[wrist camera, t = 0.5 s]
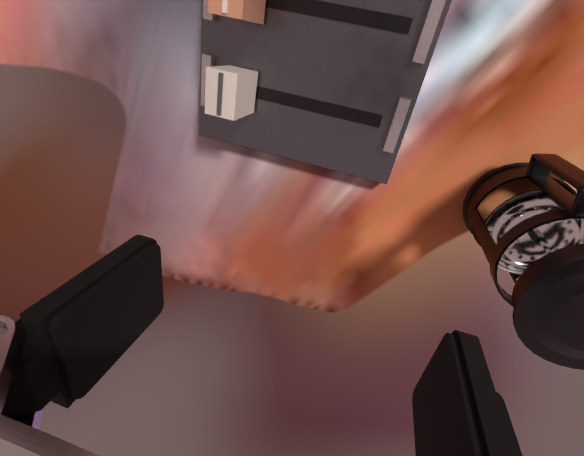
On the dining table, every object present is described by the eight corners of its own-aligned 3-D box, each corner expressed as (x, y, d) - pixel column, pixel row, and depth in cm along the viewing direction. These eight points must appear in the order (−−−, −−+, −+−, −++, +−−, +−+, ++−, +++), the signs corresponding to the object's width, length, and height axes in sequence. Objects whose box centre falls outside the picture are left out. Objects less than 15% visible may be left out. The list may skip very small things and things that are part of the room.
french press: (547, 254, 35) (746, 508, 15) (453, 245, 37) (520, 454, 18) (590, 146, 29) (983, 325, 10) (476, 143, 32) (610, 283, 12)
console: (216, -91, 29) (200, -104, 26) (468, -54, 25) (475, -65, 23) (207, 131, 39) (195, 136, 37) (386, 178, 36) (386, 186, 33)
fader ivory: (230, 65, 32) (205, 66, 28) (258, 71, 32) (236, 73, 27) (227, 106, 34) (203, 113, 30) (253, 112, 34) (233, 121, 30)
